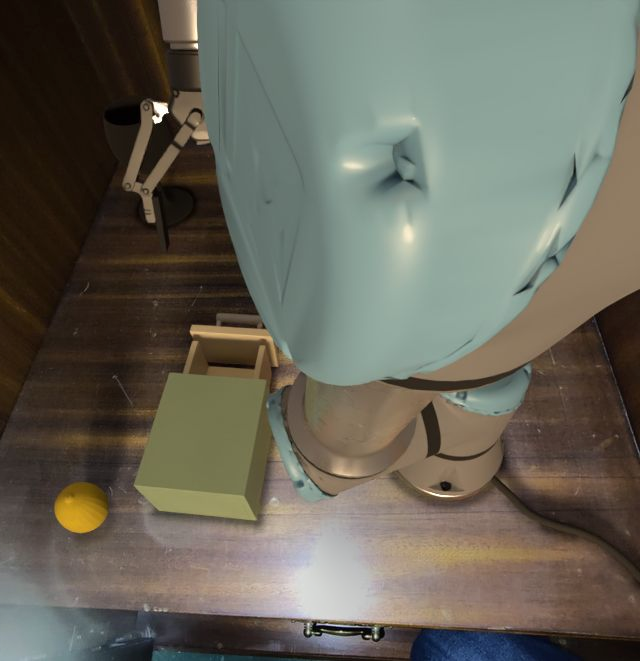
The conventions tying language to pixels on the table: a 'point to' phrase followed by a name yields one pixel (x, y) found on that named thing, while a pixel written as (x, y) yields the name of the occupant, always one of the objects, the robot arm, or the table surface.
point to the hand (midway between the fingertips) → (222, 245)
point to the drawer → (232, 348)
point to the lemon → (81, 507)
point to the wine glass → (122, 136)
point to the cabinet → (208, 447)
